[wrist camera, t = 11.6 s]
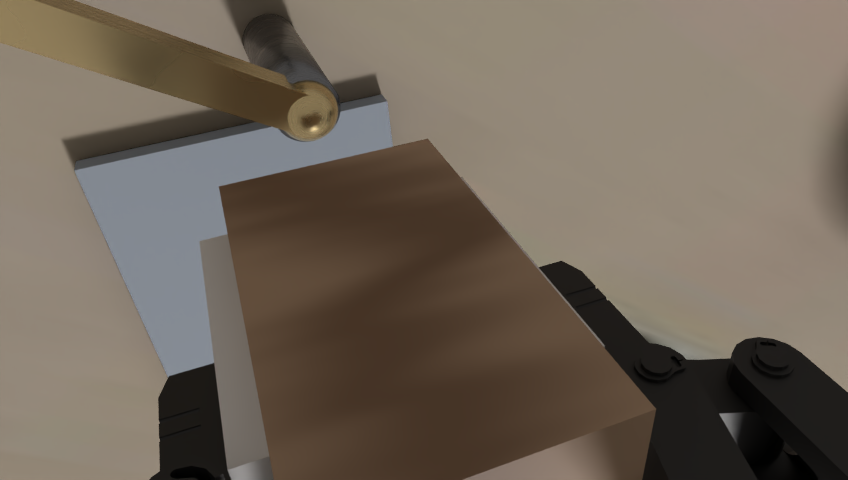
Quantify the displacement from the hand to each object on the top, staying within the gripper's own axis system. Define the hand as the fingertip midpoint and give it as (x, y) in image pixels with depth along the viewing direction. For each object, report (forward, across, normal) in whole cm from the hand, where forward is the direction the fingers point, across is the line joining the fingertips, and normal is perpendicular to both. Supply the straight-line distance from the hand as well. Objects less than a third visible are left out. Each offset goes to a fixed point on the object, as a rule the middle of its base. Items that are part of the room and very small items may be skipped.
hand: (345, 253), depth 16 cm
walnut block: (0, 0, 0) cm, 0 cm away
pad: (+12, +2, +9) cm, 15 cm away
